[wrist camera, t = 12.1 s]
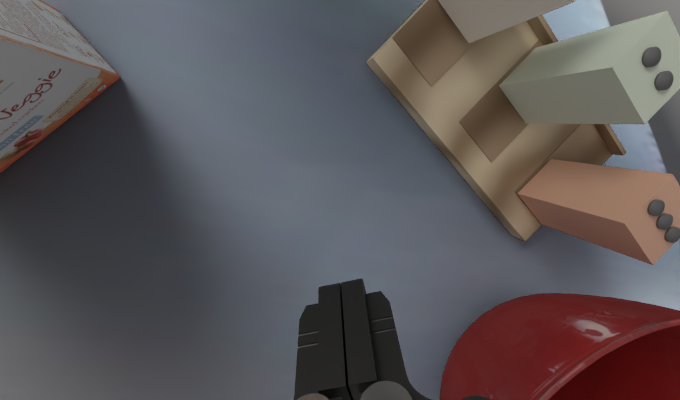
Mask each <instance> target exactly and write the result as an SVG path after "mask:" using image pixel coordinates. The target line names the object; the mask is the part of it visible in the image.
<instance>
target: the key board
mask: <svg viewBox="0 0 680 400" xmlns="http://www.w3.org/2000/svg"><path fill="white" fill-rule="evenodd" d="M555 42H558V40H557V38H556V37H555V35H554V33H553V32H552V30H551V29H550V27H549V25H548V24H547V22H546V20H545V19H544V17H543V16H542V15H540V16H537V17H535V18H532V19H530V20H527V21H524V22H522V23H519V24H517V25H514V26H512V27H509V28H507V29H504V30H502V31H499V32H497V33H494V34H492V35H489V36H487V37H484V38H481V39H479V40H476V41H474V42H471V43H468V42H467V40H466V39H465V38H464V36H463V35H462V33H461V32H460V31H459V29H458V28H457V26H456V25H455V23H454V22H453V21H452V19H451V18H450V16H449V15H448V14H447V12H446V11H445V9H444V8H443V7H442V5H441V4H440V2H439V1H438V0H425V1H424V2H423V3H422V4H421V5H420V7H419V8H418V9H417V10H416V11H415V12H414V13H413V14H412V15H411V16H410V17H409V18H408V19H407V20H406V21H405V22H404V23H403V24H402V25H401V26H400V27H399V28H398V29H397V30H396V31H395V32H394V33H393V34H392V35H391V36H390V37H389V39H388V40H387V41H386V42H385V43H384V44H383V45H382V46H381V47H380V48H379V49H378V50H377V51H376V52H375V53H374V54H373V55H372V56H371V57H370V58H369V59H368V60H367V61H366V63H367V65H368V66H369V67H370V68H371V69H372V71H373V72H374V73H375V74H376V75H377V76H378V78H379V79H380V80H381V81H382V82H383V84H384V85H385V86H386V87H387V88H388V89H389V91H390V92H391V93H392V94H393V95H394V97H395V98H396V99H397V100H398V101H399V102H400V104H401V105H402V106H403V107H404V108H405V110H406V111H407V112H408V113H409V114H410V116H411V117H412V118H413V119H414V120H415V121H416V123H417V124H418V125H419V126H420V127H421V129H422V130H423V131H424V132H425V133H426V134H427V136H428V137H429V138H430V139H431V140H432V142H433V143H434V144H435V145H436V146H437V147H438V149H439V150H440V151H441V152H442V153H443V155H444V156H445V157H446V158H447V159H448V160H449V162H450V163H451V164H452V165H453V166H454V168H455V169H456V170H457V171H458V172H459V173H460V175H461V176H462V177H463V178H464V179H465V181H466V182H467V183H468V184H469V185H470V186H471V188H472V189H473V190H474V191H475V192H476V194H477V195H478V196H479V197H480V198H481V200H482V201H483V202H484V203H485V204H486V205H487V207H488V208H489V209H490V210H491V211H492V213H493V214H494V215H495V216H496V217H497V218H498V220H499V221H500V222H501V223H502V224H503V226H504V227H505V228H506V229H507V230H508V231H509V233H510V234H511V235H513V236H515V237H517V238H519V239H521V240H524V241H526V240H527V239H528V238H529V237H530V236H531V235H532V234H533V233H534V232H535V231H536V230H537V229H538V228H539V227H540V226H542V224H541V223H540V222H539V220H538V219H537V218H536V216H535V215H534V214H533V213H532V211H531V210H530V209H529V208H528V206H527V205H526V204H525V203H524V201H523V200H522V199H521V198H520V196H519V195H518V194H517V193H518V192H519V191H520V190H521V189H522V188H523V187H524V186H525V185H526V184H527V183H528V182H529V181H530V180H531V179H532V178H533V177H534V176H535V175H536V174H537V173H538V172H539V171H540V170H541V169H542V168H543V167H544V166H545V165H546V164H547V163H548V162H549V161H550V160H551V159H554V160H562V161H570V162H578V163H586V164H594V165H602V164H603V163H604V162H605V161H606V160H607V159H608V158H609V157H610V156H611V155H612V154H614V155H624V154H625V153H626V151H625V149H624V148H623V146H622V144H621V143H620V141H619V139H618V138H617V136H616V134H615V133H614V131H613V130H612V128H611V126H610V125H609V124H526V123H525V122H524V120H523V119H522V118H521V116H520V115H519V113H518V112H517V111H516V109H515V108H514V106H513V105H512V104H511V102H510V101H509V99H508V98H507V97H506V95H505V94H504V92H503V91H502V90H501V88H500V87H499V85H500V84H501V83H502V82H503V81H504V80H505V79H506V78H507V77H508V76H509V75H510V74H511V73H512V72H513V70H514V69H515V68H516V67H517V66H518V65H519V64H520V63H521V62H522V61H523V60H524V59H525V58H526V57H527V56H528V55H529V54H530V53H531V52H532V51H533V50H534V49H535V48H537V47H540V46H544V45H548V44H551V43H555Z"/></svg>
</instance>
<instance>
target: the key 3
mask: <svg viewBox="0 0 680 400" xmlns="http://www.w3.org/2000/svg"><path fill="white" fill-rule="evenodd" d="M517 194H518V195H519V196H520V198H521V199H522V200H523V201H524V203H525V204H526V205H527V206H528V208H529V209H530V210H531V211H532V213H533V214H534V215H535V216H536V218H537V219H538V220H539V222H540V223H541V224H542V225H545V226H548V227H551V228H553V229H556V230H559V231H562V232H564V233H567V234H570V235H572V236H575V237H578V238H581V239H583V240H586V241H589V242H592V243H594V244H597V245H600V246H602V247H605V248H608V249H611V250H613V251H616V252H619V253H622V254H624V255H627V256H630V257H633V258H635V259H638V260H641V261H643V262H646V263H649V264H652V265H653V264H654V263H655V262H656V261H657V260H658V259H659V258H660V257H661V256H662V255H663V254H664V253H665V252H666V251H667V250H668V249H669V248H670V247H671V246H672V245H673V244H674V243H675V242H676V241H678V239H679V238H680V186H679V184H678V182H677V180H676V179H675V177H674V175H673V174H666V173H658V172H650V171H642V170H634V169H626V168H618V167H610V166H602V165H594V164H586V163H578V162H570V161H562V160H554V159H551V160H550V161H549V162H548V163H547V164H546V165H545V166H544V167H543V168H542V169H541V170H540V171H539V172H538V173H537V174H536V175H535V176H534V177H533V178H532V179H531V180H530V181H529V182H528V183H527V184H526V185H525V186H524V187H523V188H522V189H521V190H520V191H519V192H518V193H517Z"/></svg>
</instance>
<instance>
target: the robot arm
mask: <svg viewBox="0 0 680 400" xmlns="http://www.w3.org/2000/svg"><path fill="white" fill-rule="evenodd" d="M294 400H431V399H428V398H426V397H424V396H422V395H421V394H420V393H418V392H417V391H416V390H415V389H414V388H413V387H412V385H411V384H410V382H409V380H408V378H407V375H406V371H405V367H404V362H403V358H402V354H401V349H400V345H399V341H398V336H397V332H396V328H395V323H394V319H393V315H392V310H391V306H390V302H389V301H388V299H387V298H386V297H385V296H384V295H383V293H382V292H381V291H379V292H374V293H368V294H366V291H365V287H364V283H363V279H357V280H352V281H347V282H342V283H341V284H340V283H337V284H332V285H327V286H322V287H319V302H318V304H313V305H308V306H306V308H305V310H304V312H303V314H302V316H301V318H300V322H299V337H298V351H297V366H296V381H295V394H294ZM461 400H491V399H489V398H486V397H483V396H469V397H465V398H463V399H461Z"/></svg>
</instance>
